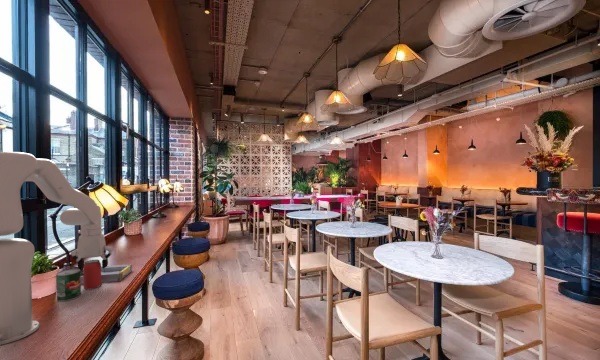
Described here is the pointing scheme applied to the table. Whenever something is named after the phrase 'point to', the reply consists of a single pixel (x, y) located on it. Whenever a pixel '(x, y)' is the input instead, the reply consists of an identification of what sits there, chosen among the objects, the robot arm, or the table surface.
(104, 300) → the table surface
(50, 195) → the robot arm
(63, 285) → the canned tomato
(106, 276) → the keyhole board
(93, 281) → the beer can
